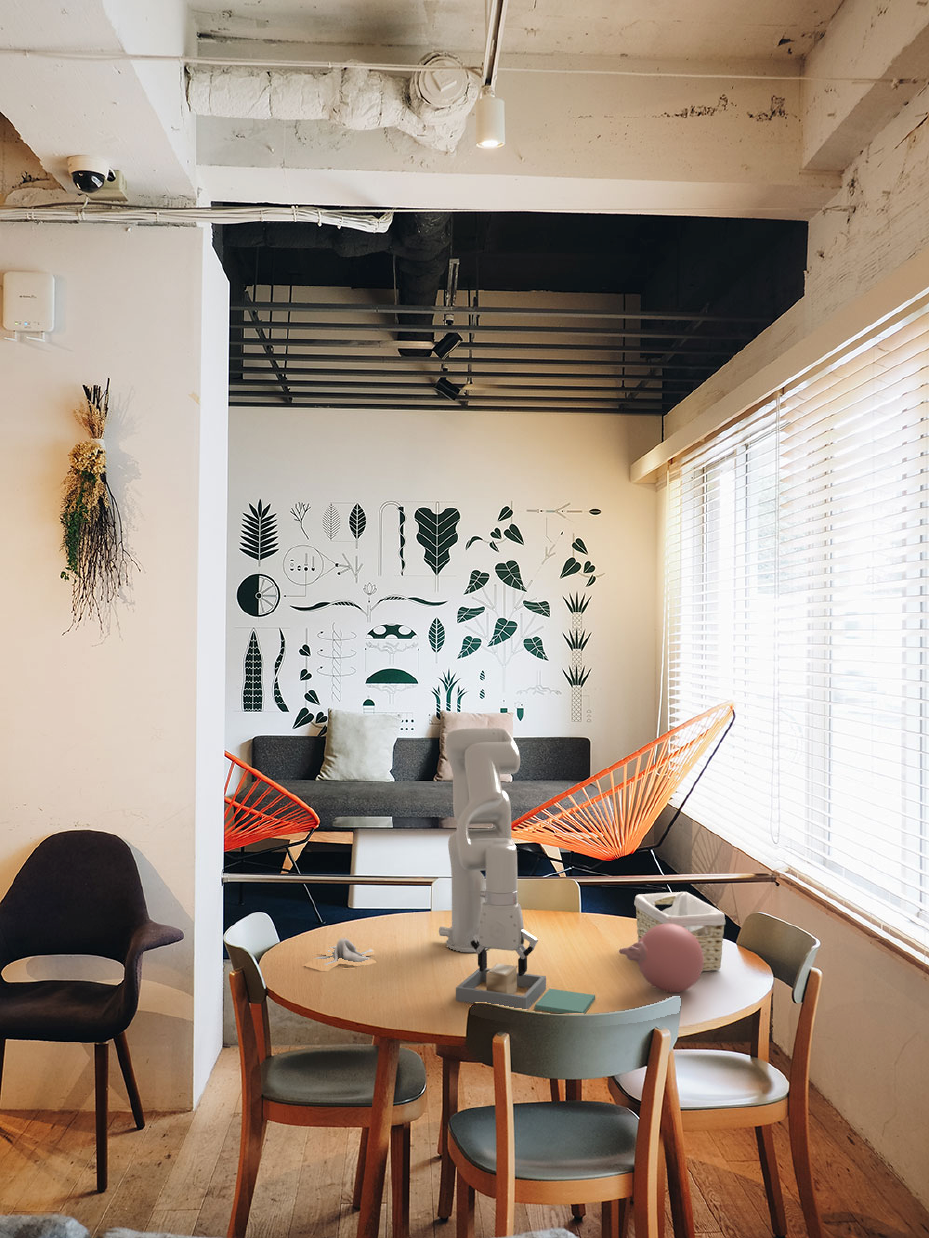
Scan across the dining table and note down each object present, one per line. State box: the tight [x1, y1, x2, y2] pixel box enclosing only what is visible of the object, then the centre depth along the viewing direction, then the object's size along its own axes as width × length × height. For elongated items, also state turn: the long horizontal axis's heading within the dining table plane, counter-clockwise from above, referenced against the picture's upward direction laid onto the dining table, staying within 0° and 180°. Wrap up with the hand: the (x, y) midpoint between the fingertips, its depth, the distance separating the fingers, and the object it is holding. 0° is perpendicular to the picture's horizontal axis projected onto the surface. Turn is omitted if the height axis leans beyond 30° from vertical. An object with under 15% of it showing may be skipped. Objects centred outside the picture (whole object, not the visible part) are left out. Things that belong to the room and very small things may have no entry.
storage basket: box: [633, 891, 726, 972], centre depth 240 cm, size 24×16×15 cm
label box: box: [485, 963, 518, 995], centre depth 215 cm, size 5×7×6 cm
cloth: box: [314, 937, 374, 965], centre depth 240 cm, size 22×19×6 cm
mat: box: [534, 988, 596, 1014], centre depth 209 cm, size 11×11×1 cm
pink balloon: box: [618, 924, 704, 993], centre depth 218 cm, size 15×20×15 cm
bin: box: [455, 967, 547, 1010], centre depth 215 cm, size 17×15×3 cm
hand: (502, 972), depth 214 cm, fingers open, 9 cm apart
